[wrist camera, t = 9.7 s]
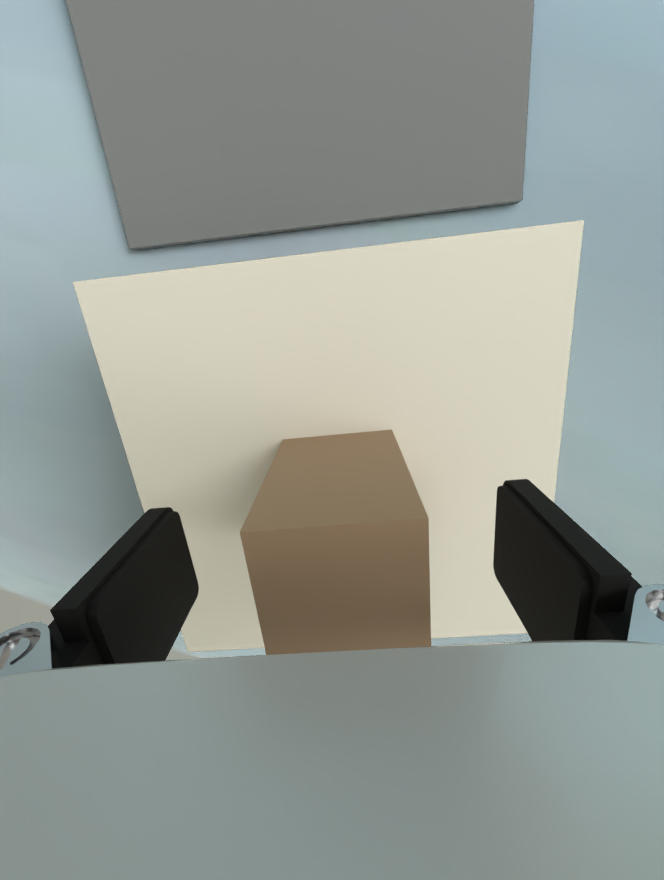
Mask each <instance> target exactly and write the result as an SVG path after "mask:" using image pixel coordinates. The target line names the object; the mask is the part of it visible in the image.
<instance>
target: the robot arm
mask: <svg viewBox="0 0 664 880" xmlns="http://www.w3.org/2000/svg"><path fill="white" fill-rule="evenodd" d="M493 568H494V573H495V576H496V578H497V580H498V582H499V584H500V585H501V587H502V589H503V591H504V592H505V594H506V596H507V598H508V599H509V601H510V603H511V605H512V606H513V608H514V610H515V612H516V613H517V615H518V617H519V618H520V620H521V622H522V624H523V625H524V627H525V629H526V631H527V632H528V634H529V636H530V638H531V639H532V641H530V642H509V643H488V644H467V645H446V646H425V647H406V648H388V649H369V650H351V651H332V652H314V653H295V654H276V655H257V656H238V657H219V658H201V659H184V660H168V661H165V660H166V657H167V656H168V654H169V651H170V650H171V648H172V646H173V644H174V642H175V640H176V638H177V636H178V634H179V632H180V630H181V628H182V626H183V624H184V622H185V620H186V618H187V616H188V614H189V612H190V610H191V608H192V606H193V604H194V602H195V600H196V598H197V596H198V592H199V585H198V580H197V577H196V573H195V570H194V566H193V562H192V559H191V555H190V551H189V548H188V544H187V540H186V537H185V533H184V529H183V526H182V522H181V518H180V515H179V513H178V512H176V511H173V509H172V508H170V507H164V508H152V509H149V510H147V512H146V513H145V514H144V515H143V516H142V517H141V518H140V519H139V520H138V521H137V522H136V523H135V524H134V525H133V526H132V527H131V528H130V529H129V530H128V531H127V532H126V533H125V534H124V535H123V536H122V537H121V538H120V539H119V540H118V541H117V542H116V543H115V544H114V545H113V546H112V547H111V548H110V549H109V551H108V552H107V553H106V554H105V555H104V556H103V557H102V558H101V559H100V560H99V561H98V562H97V563H96V564H95V565H94V566H93V567H92V568H91V569H90V570H89V571H88V572H87V573H86V574H85V575H84V576H83V577H82V578H81V579H80V580H79V581H78V582H77V583H76V584H75V585H74V586H73V587H72V588H71V589H70V591H69V592H68V593H67V594H66V595H65V596H64V597H63V598H62V599H61V600H60V601H59V602H58V603H57V604H56V605H55V606H54V607H53V608H52V609H51V610H50V611H51V613H52V615H53V617H54V620H53V621H52V623H51V624H50V625H49V626H47V625H46V624H44V623H41V622H31V623H27V624H22V625H19V626H17V627H14V628H11V629H9V630H7V631H5V632H3V633H1V634H0V880H664V585H662V584H653V585H646V586H644V587H642V586H641V585H640V584H639V583H638V582H637V581H636V580H634V579H633V578H632V577H631V574H632V573H630V572H629V571H628V570H627V569H626V568H625V567H624V566H623V565H622V564H621V563H619V562H618V561H617V560H616V559H615V558H614V557H613V556H612V555H611V554H610V553H608V552H607V551H606V550H605V549H604V548H603V547H602V546H601V545H600V544H599V543H598V542H596V541H595V540H594V539H593V538H592V537H591V536H590V535H589V534H588V533H587V532H585V531H584V530H583V529H582V528H581V527H580V526H579V525H578V524H577V523H576V522H574V521H573V520H572V519H571V518H570V517H569V516H568V515H567V514H566V513H565V512H564V511H562V510H561V509H560V508H559V507H558V506H557V505H556V504H555V503H554V502H553V501H551V500H550V499H549V498H548V497H547V496H546V495H545V494H544V493H543V492H542V491H540V490H539V489H538V488H537V487H536V486H535V485H534V484H533V483H532V482H531V481H530V480H528V479H517V480H506V481H505V482H504V483H503V486H499V487H498V488H497V498H496V518H495V538H494V558H493Z"/></svg>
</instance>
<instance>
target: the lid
mask: <svg viewBox="0 0 664 880" xmlns="http://www.w3.org/2000/svg"><path fill="white" fill-rule="evenodd" d="M583 226H584V220H581V221H572V222H564V223H556V224H547V225H539V226H531V227H523V228H514V229H506V230H498V231H490V232H481V233H473V234H465V235H457V236H448V237H440V238H432V239H423V240H415V241H407V242H399V243H390V244H382V245H374V246H366V247H357V248H349V249H341V250H332V251H324V252H316V253H308V254H299V255H291V256H283V257H275V258H266V259H258V260H250V261H242V262H233V263H225V264H217V265H208V266H200V267H192V268H184V269H175V270H167V271H159V272H151V273H142V274H134V275H126V276H117V277H109V278H101V279H93V280H84V281H76V282H73V285H74V288H75V291H76V294H77V297H78V301H79V304H80V307H81V310H82V314H83V317H84V320H85V323H86V326H87V330H88V333H89V336H90V339H91V343H92V346H93V349H94V352H95V355H96V359H97V362H98V365H99V368H100V372H101V375H102V378H103V381H104V384H105V388H106V391H107V394H108V397H109V400H110V404H111V407H112V410H113V413H114V417H115V420H116V423H117V426H118V429H119V433H120V436H121V439H122V442H123V446H124V449H125V452H126V455H127V458H128V462H129V465H130V468H131V471H132V474H133V478H134V481H135V484H136V487H137V491H138V494H139V497H140V500H141V503H142V507H143V510H144V513H146V512H147V510H149V509H152V508H164V507H170V508H172V509H173V511H176V512H178V513H179V515H180V518H181V522H182V526H183V529H184V533H185V537H186V540H187V544H188V548H189V551H190V555H191V559H192V562H193V566H194V570H195V573H196V577H197V580H198V585H199V592H198V596H197V598H196V600H195V602H194V604H193V606H192V608H191V610H190V612H189V614H188V616H187V618H186V620H185V622H184V624H183V626H182V628H181V632H182V635H183V639H184V642H185V645H186V648H187V651H188V652H199V651H217V650H234V649H252V648H265V651H266V655H276V654H295V653H314V652H332V651H351V650H369V649H388V648H406V647H425V646H431V638H449V637H467V636H485V635H503V634H521V633H528V632H527V631H526V629H525V627H524V625H523V624H522V622H521V620H520V618H519V617H518V615H517V613H516V612H515V610H514V608H513V606H512V605H511V603H510V601H509V599H508V598H507V596H506V594H505V592H504V591H503V589H502V587H501V585H500V584H499V582H498V580H497V578H496V576H495V573H494V568H493V558H494V538H495V518H496V498H497V488H498V487H499V486H503V483H504V482H505V481H506V480H517V479H528V480H530V481H531V482H532V483H533V484H534V485H535V486H536V487H537V488H538V489H539V490H540V491H542V492H543V493H544V494H545V495H546V496H547V497H548V498H549V499H550V500H551V501H553V502H554V499H555V489H556V480H557V470H558V461H559V452H560V442H561V433H562V423H563V414H564V405H565V395H566V386H567V377H568V367H569V358H570V348H571V339H572V330H573V320H574V311H575V301H576V292H577V283H578V273H579V264H580V255H581V245H582V236H583Z"/></svg>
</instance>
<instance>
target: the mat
mask: <svg viewBox="0 0 664 880" xmlns="http://www.w3.org/2000/svg"><path fill="white" fill-rule="evenodd" d="M66 3H67V7H68V11H69V15H70V18H71V22H72V26H73V30H74V34H75V38H76V42H77V46H78V50H79V54H80V58H81V62H82V65H83V69H84V73H85V77H86V81H87V85H88V89H89V93H90V97H91V101H92V105H93V109H94V112H95V116H96V120H97V124H98V128H99V132H100V136H101V140H102V144H103V148H104V152H105V156H106V159H107V163H108V167H109V171H110V175H111V179H112V183H113V187H114V191H115V195H116V199H117V202H118V206H119V210H120V214H121V218H122V222H123V226H124V230H125V234H126V238H127V242H128V246H129V248H130V249H133V250H139V249H147V248H156V247H164V246H172V245H180V244H188V243H196V242H204V241H212V240H221V239H229V238H237V237H245V236H253V235H261V234H269V233H277V232H285V231H294V230H302V229H310V228H318V227H326V226H334V225H342V224H350V223H359V222H367V221H375V220H383V219H391V218H399V217H407V216H415V215H423V214H432V213H440V212H448V211H456V210H464V209H472V208H480V207H488V206H497V205H505V204H513V203H518V202H520V201H521V200H522V199H523V182H524V165H525V148H526V131H527V114H528V97H529V79H530V62H531V45H532V28H533V11H534V0H66Z"/></svg>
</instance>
